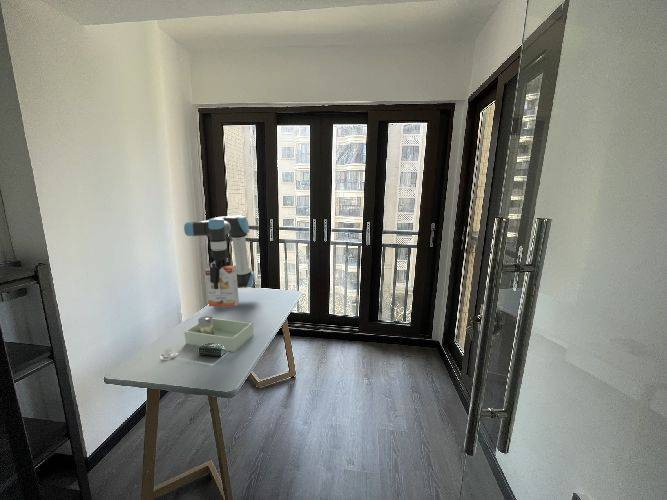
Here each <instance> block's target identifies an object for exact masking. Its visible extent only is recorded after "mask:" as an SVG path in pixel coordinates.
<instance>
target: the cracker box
mask: <svg viewBox="0 0 667 500" xmlns="http://www.w3.org/2000/svg"><path fill="white" fill-rule="evenodd" d="M216 268H218V267H216ZM204 270H205V280H206V289H207V301H208V307H236V306H238V304H239V302H240V299H239V288H238V284H237V272H236V265H231V266H223V267H221V269H220V270H219V271H220V275H219V282H220V289H221V295H216V294H215V288H214V283H211V282H210V266H209V265H208V266H207V267H205V268H204Z"/></svg>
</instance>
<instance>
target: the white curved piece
mask: <svg viewBox="0 0 667 500" xmlns="http://www.w3.org/2000/svg"><path fill="white" fill-rule="evenodd" d="M172 347H173V346H172ZM172 347H171V346H167V347H165V348H164V354H161V355H160V356H159V359H160V360H162V361H167V360H171V359H174V358H176V357H178V356H179V352H173V348H172ZM164 355H165V356H166V357H167V358H164Z"/></svg>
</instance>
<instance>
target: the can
mask: <svg viewBox="0 0 667 500" xmlns="http://www.w3.org/2000/svg"><path fill="white" fill-rule="evenodd" d="M212 318H213V316H212V315H205V316H202V317H201V316H200V317H199V318H198V319H197V321H198V323H199V331H200V333H204V334H210V335H214V328H213V319H212Z"/></svg>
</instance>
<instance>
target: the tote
mask: <svg viewBox="0 0 667 500" xmlns="http://www.w3.org/2000/svg"><path fill="white" fill-rule="evenodd" d="M212 319H213V328H214V335H210V334H204V333H200V331H199V322H198V323H196V324H194V325H193V326H191V327H189V328H187V329H186V330H184V331H183V333H184V340H185V344H186V345H190V346H197V347H202V345H204V344H206V343H216V344H221V345H223V346H224V348H225V350H224V351H227V352H228V353H236V352H237V351H238V350H239V349H240V348H241V347H242V346H244V345H245V344H246V343H247V342H248V341H250V339H251V338H253V336H254V325H253V322H246V321H238V320H231V319H223V318H216V317H215V318H213V317H212Z"/></svg>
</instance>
